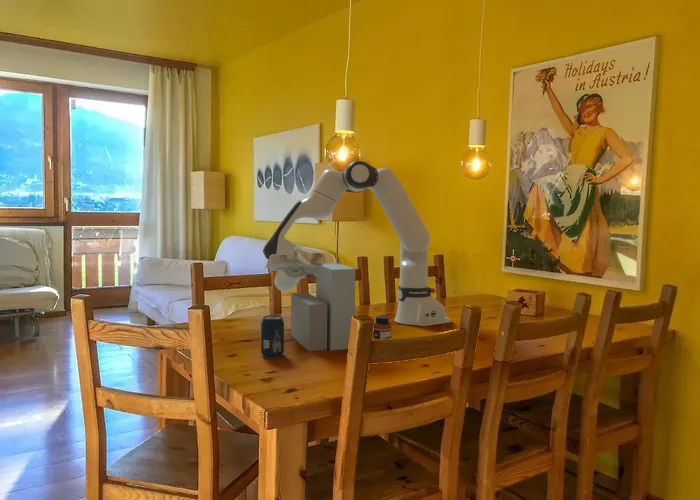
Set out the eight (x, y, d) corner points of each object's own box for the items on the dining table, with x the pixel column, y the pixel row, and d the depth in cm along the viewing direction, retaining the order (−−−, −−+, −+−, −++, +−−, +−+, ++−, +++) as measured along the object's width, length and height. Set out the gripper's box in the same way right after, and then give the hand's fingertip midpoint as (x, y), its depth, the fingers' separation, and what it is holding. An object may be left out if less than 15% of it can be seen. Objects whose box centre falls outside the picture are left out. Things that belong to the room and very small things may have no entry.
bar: (305, 258, 195) (305, 247, 195) (323, 265, 177) (323, 252, 176) (294, 258, 194) (294, 247, 193) (311, 265, 175) (311, 252, 175)
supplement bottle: (369, 349, 179) (369, 315, 178) (385, 348, 181) (386, 314, 180) (377, 354, 174) (377, 319, 172) (394, 353, 176) (394, 317, 175)
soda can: (269, 351, 175) (269, 314, 174) (288, 354, 172) (288, 316, 171) (256, 356, 169) (256, 318, 168) (275, 360, 166) (275, 320, 165)
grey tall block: (337, 336, 195) (338, 263, 193) (354, 348, 180) (355, 268, 178) (315, 338, 192) (316, 263, 190) (330, 350, 178) (332, 269, 175)
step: (307, 333, 199) (307, 292, 197) (326, 349, 178) (327, 303, 177) (290, 335, 196) (291, 293, 195) (309, 351, 176) (309, 304, 175)
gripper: (263, 260, 200) (271, 244, 189) (317, 259, 208) (328, 244, 196) (265, 276, 198) (273, 261, 186) (320, 275, 205) (331, 260, 194)
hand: (302, 252), depth 191 cm, fingers closed on bar, 4 cm apart
